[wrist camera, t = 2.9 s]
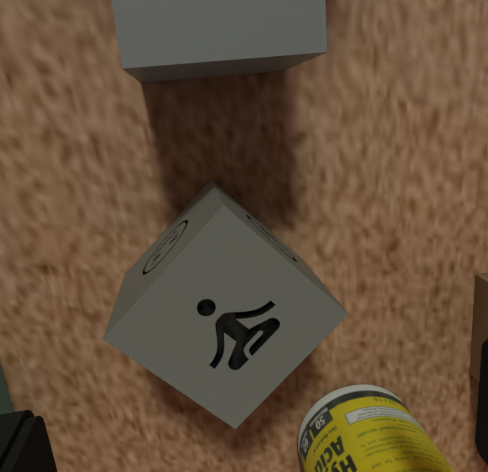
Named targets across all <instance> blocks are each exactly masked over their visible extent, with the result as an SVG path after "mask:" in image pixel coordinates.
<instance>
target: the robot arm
mask: <svg viewBox="0 0 488 472" xmlns="http://www.w3.org/2000/svg"><path fill="white" fill-rule="evenodd" d="M475 442H476V447H477V450H478V452H479V454H480V456H481V458H482V459H483V460H484V461H485V462H486V464H487V465H488V337H487V340H486V341H484V342H483V344H482V349H481V363H480V378H479V393H478V408H477V423H476V438H475ZM0 472H57V468H56V464H55V461H54V457H53V453H52V449H51V445H50V442H49V438H48V434H47V430H46V426H45V423H44V420H43V418H42V417H41V416H35V417H34V414H33V413H32V411H30V410H24V411H18V412H12V413H6V414H0Z"/></svg>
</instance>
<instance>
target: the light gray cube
mask: <svg viewBox="0 0 488 472" xmlns="http://www.w3.org/2000/svg"><path fill="white" fill-rule="evenodd" d="M111 1H112V7H113V13H114V20H115V26H116V32H117V38H118V45H119V51H120V57H121V64H122V69H123V70H125V71H126V72H127V73H129V74H130V75H131V76H133V77H134V78H135V79H136V80H138V81H139V82H140V83H145V82H156V81H168V80H180V79H192V78H204V77H215V76H227V75H239V74H251V73H262V72H274V71H283V70H286V69H288V68H290V67H293V66H295V65H298V64H300V63H302V62H305V61H307V60H309V59H312V58H314V57H317V56H319V55H321V54H324V53H326V52H327V30H326V0H111Z"/></svg>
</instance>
